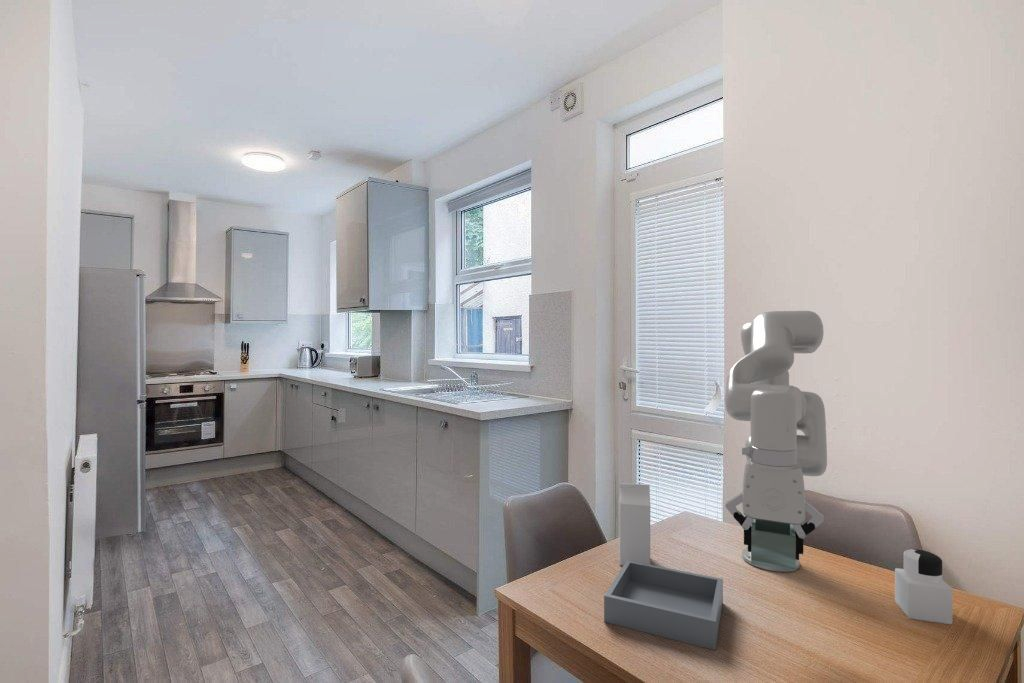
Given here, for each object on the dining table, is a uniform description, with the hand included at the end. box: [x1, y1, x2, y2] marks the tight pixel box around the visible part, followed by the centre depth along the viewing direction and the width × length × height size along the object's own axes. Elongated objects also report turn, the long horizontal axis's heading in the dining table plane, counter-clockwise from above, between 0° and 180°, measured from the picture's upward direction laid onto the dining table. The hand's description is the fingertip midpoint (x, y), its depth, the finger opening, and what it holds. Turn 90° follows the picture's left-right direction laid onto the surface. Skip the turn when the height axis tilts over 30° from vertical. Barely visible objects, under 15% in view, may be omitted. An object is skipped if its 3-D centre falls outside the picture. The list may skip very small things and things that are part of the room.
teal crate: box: [751, 519, 797, 572], centre depth 93 cm, size 7×7×6 cm
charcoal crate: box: [603, 560, 724, 651], centre depth 101 cm, size 18×20×5 cm
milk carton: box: [619, 482, 651, 566], centre depth 125 cm, size 7×7×19 cm
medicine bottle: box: [894, 548, 953, 626], centre depth 101 cm, size 7×7×12 cm
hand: (772, 552), depth 93 cm, fingers closed on teal crate, 7 cm apart
